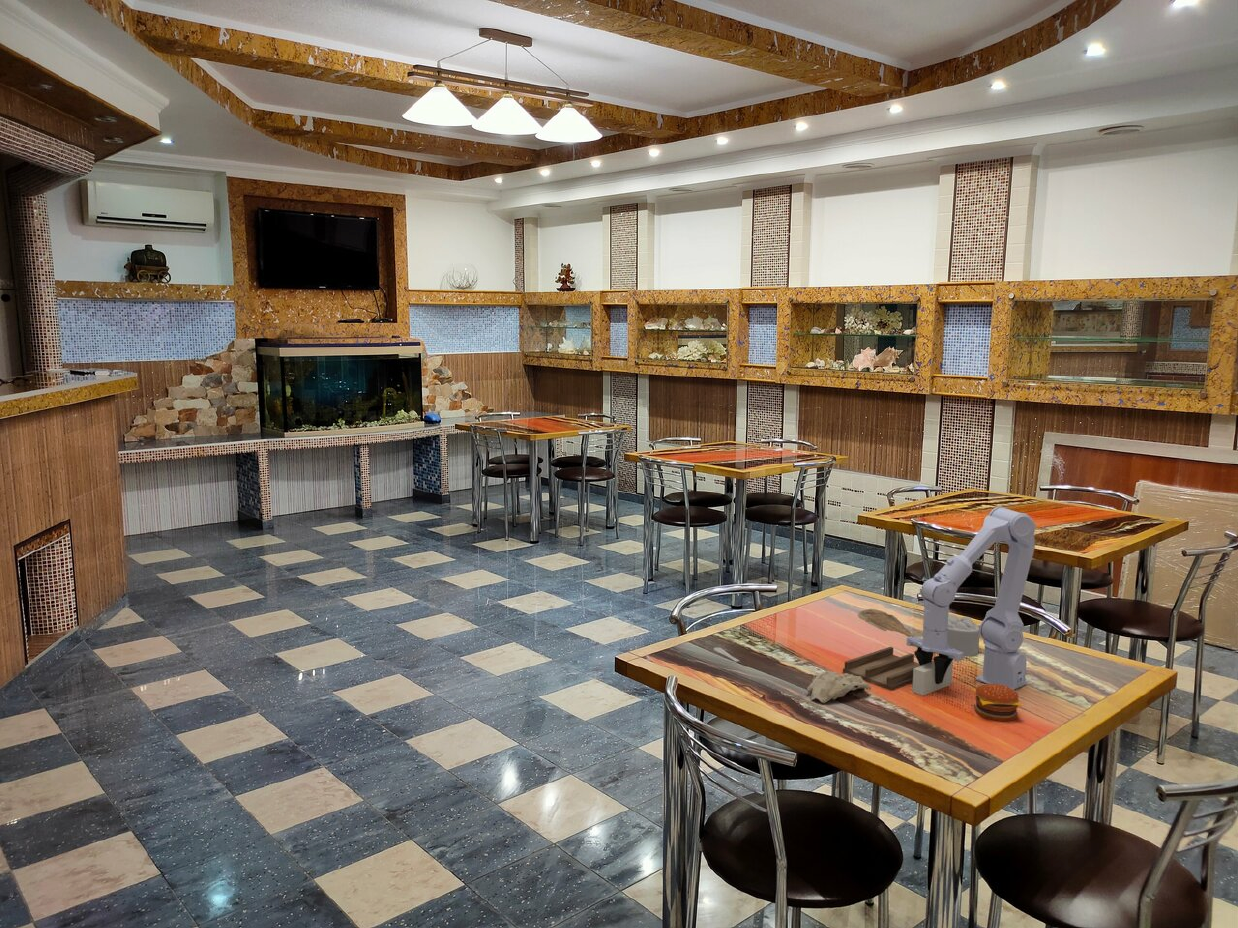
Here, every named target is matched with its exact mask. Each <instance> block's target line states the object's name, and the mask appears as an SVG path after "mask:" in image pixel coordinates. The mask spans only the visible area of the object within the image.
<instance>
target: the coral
mask: <svg viewBox="0 0 1238 928" xmlns="http://www.w3.org/2000/svg"><path fill="white" fill-rule="evenodd" d="M871 686H872V685H870V684H869V682H867V681H865V680H863V679H862V678H861V676H854V675H849V674H847V673H843V674H839V673H838V672H836V671H830V670H824V671H823V672H820V673H816V674H814V676H813V678H812V679H811V683H810V684H809V685H808V686H807V690H806V691H807V692H808V693H810V697H811V698H810V701H814V700H817V699H818V701H820V703H822V704H826V703H827V702H828V701H830V700H831V699H832V700H836V699H837V698H840V697H845V696H846V694H847V693H849V692H850V691H855V690H857V689H863V690H865V691H866V690H867V691H868V690H869V691H871V689H872V687H871Z"/></svg>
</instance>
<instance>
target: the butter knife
mask: <svg viewBox="0 0 1238 928" xmlns="http://www.w3.org/2000/svg"><path fill="white" fill-rule="evenodd" d="M712 650H713V651H715V652H716V653H719V654H721V655H722V656H724V657H727V658H729V659H730V660H732V661H734V662H740V659H737V658H736V657H735V656H733V655H731V654H730V653H728V652H727V651H726V650H725V649H724V648H722V647H713V648H712Z"/></svg>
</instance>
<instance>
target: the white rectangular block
mask: <svg viewBox="0 0 1238 928" xmlns="http://www.w3.org/2000/svg"><path fill="white" fill-rule="evenodd" d="M932 661H933V662H930V663H927V664H925V665H922V666H919V667H916V668H914V669H913V683H912V688H911V689H912V693H915V694H917V695H920V696H922V697H924V696H926V695H929V694H931V693H934V692H937V691H939V690H941V689H944V688H946V687H949V686H952V684H953V683H952V681H953V680H952V679H953V667H954V665H953V664H954V662H953V661H954V660H953V661H952V662H951V663H950V665H949V667H948V668H947V671H946V673H945V676H944V679H943V682H942V683H940V684H936V683H935V664H934V660H932Z"/></svg>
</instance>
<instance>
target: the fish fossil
mask: <svg viewBox="0 0 1238 928" xmlns="http://www.w3.org/2000/svg"><path fill="white" fill-rule="evenodd" d="M857 616H858V617H857V618H859V619H860V620H863V621H865V623H867V624H870V625H871V626H873V627H875V628H876V629H877V628H878V630H882V631H884V632H887V631H890V632H895V633H900V634H903V635H904V636H906V637H907V638H908V637H911V636H912V637H915V634H913V633H912V632H911V631H910V630H909V629H907V628H906V627H905V625H904V624H903V623H902V622H901V621H900V620H899V619H898V617H896V616H894V615H893V614H889V613H888V612H885V611H882V610H879V609H876V608H868V609H867V608H866V609H865V610H864V609H863V610H860V611H859V612H858V613H857Z"/></svg>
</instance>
